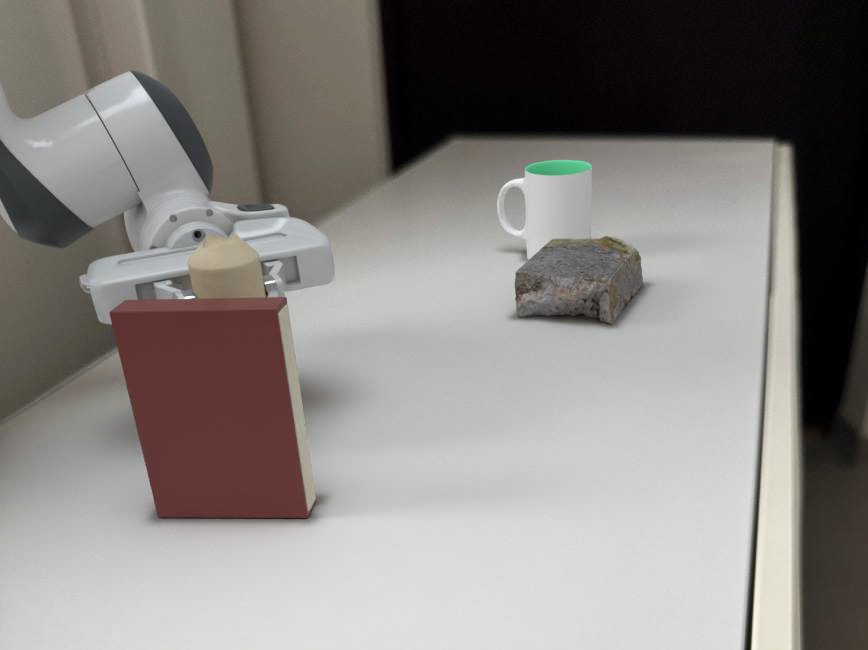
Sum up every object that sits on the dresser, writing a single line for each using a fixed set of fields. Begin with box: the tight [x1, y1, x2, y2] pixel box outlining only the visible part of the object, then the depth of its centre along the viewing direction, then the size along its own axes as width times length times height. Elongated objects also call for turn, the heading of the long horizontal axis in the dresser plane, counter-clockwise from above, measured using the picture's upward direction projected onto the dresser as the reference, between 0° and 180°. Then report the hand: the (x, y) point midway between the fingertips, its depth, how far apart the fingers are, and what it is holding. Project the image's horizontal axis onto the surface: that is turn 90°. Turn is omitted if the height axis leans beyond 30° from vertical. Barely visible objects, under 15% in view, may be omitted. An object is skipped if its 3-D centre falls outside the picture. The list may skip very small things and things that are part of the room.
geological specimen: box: [514, 235, 644, 325], centre depth 116 cm, size 11×6×15 cm
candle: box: [187, 234, 266, 299], centre depth 84 cm, size 6×6×10 cm
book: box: [109, 296, 317, 519], centre depth 78 cm, size 12×3×16 cm, turn 85°
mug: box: [496, 159, 593, 261], centre depth 130 cm, size 12×8×10 cm, turn 71°
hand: (233, 300), depth 83 cm, fingers closed on candle, 5 cm apart
